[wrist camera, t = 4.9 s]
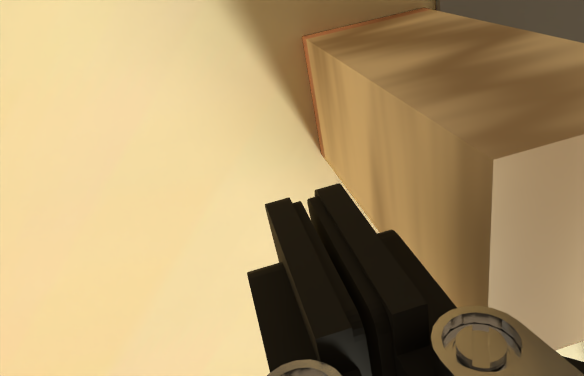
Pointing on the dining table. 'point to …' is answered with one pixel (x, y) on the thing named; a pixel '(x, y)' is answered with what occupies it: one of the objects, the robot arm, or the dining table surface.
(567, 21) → the mat
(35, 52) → the dining table surface
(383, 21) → the oak block
